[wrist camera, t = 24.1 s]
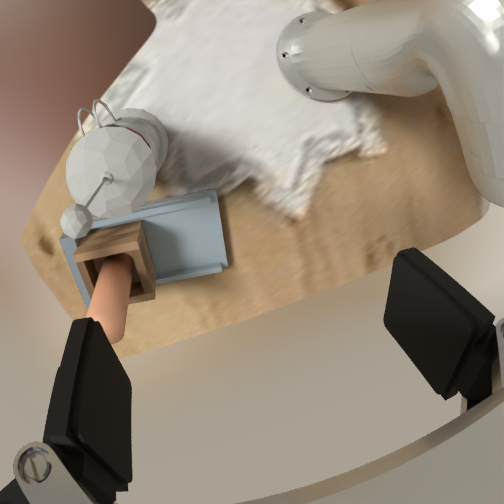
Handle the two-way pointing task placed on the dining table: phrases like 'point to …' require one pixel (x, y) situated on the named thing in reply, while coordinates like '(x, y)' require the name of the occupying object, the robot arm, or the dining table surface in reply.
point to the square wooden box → (113, 242)
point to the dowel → (112, 295)
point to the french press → (113, 167)
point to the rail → (170, 237)
